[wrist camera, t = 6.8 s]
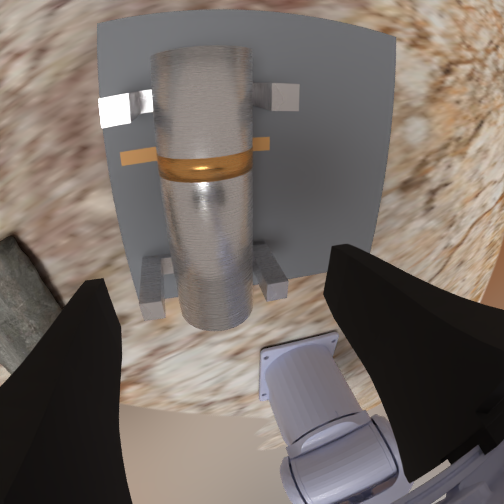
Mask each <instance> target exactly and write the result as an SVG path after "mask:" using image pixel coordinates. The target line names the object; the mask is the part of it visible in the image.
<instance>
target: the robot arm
mask: <svg viewBox="0 0 504 504" xmlns="http://www.w3.org/2000/svg"><path fill="white" fill-rule="evenodd" d="M323 295H324V297H325V299H326V302H327V304H328V306H329V309H330V311H331V313H332V315H333V317H334V319H335V321H336V322H337V324H338V325H339V327H340V329H341V330H342V332H343V333H344V335H345V337H346V338H347V340H348V341H349V343H350V344H351V346H352V347H353V349H354V351H355V352H356V354H357V355H358V357H359V359H360V360H361V362H362V363H363V365H364V366H365V368H366V370H367V372H368V374H369V375H370V377H371V379H372V381H373V384H374V386H375V388H376V390H377V392H378V395H379V397H380V399H381V401H382V404H383V406H384V409H385V411H386V414H387V416H388V419H389V421H388V420H387V419H386V418H385V417H383V416H379V415H377V414H375V415H373V416H372V417H369V415H368V413H367V412H366V410H364V411H363V410H362V409H361V407H360V405H359V403H358V401H357V400H356V398H355V396H354V394H353V392H352V391H351V389H350V387H349V385H348V384H347V382H346V380H345V378H344V376H343V375H342V373H341V371H340V369H339V368H338V366H337V364H336V362H335V361H334V359H333V354H334V351H335V347H336V344H337V341H338V337H339V334H338V333H337V332H332V333H328V334H324V335H320V336H316V337H312V338H308V339H304V340H300V341H296V342H292V343H288V344H283V345H279V346H274V347H270V348H265V349H263V350H262V351H261V352H260V378H259V399H260V401H266V400H269V402H270V405H271V408H272V410H273V413H274V416H275V418H276V421H277V424H278V427H279V429H280V432H281V435H282V437H283V439H284V441H285V443H286V444H287V445H288V447H286V450H287V452H288V455H289V456H287V457H284V458H283V460H282V464H281V466H280V475H281V479H282V483H283V486H284V488H285V491H286V493H287V495H288V497H289V499H290V501H291V502H292V504H431V503H433V502H434V501H436V500H437V499H439V498H440V497H441V496H443V495H444V494H445V493H446V498H445V499H443V500H441V501H439V502H437V503H435V504H504V310H502V309H498V308H494V307H490V306H487V305H483V304H480V303H477V302H474V301H471V300H468V299H465V298H463V297H460V296H457V295H455V294H452V293H450V292H447V291H445V290H442V289H440V288H438V287H435V286H433V285H431V284H429V283H427V282H425V281H423V280H421V279H419V278H416V277H414V276H412V275H410V274H408V273H406V272H405V271H403V270H401V269H399V268H397V267H395V266H393V265H391V264H389V263H387V262H385V261H383V260H381V259H380V258H378V257H376V256H374V255H372V254H370V253H368V252H366V251H364V250H362V249H359V248H357V247H355V246H353V245H350V244H341V245H334V246H332V247H331V253H330V259H329V265H328V271H327V276H326V282H325V287H324V293H323ZM121 364H122V338H121V325H120V323H119V320H118V318H117V315H116V312H115V310H114V307H113V304H112V302H111V299H110V296H109V293H108V290H107V287H106V284H105V281H104V278H101V279H94V280H87V281H85V282H84V283H83V284H82V285H81V286H80V288H79V289H78V290H77V291H76V293H75V294H74V295H73V297H72V298H71V299H70V301H69V302H68V303H67V305H66V306H65V307H64V309H63V310H62V311H61V313H60V314H59V315H58V317H57V318H56V319H55V321H54V322H53V324H52V325H51V326H50V328H49V329H48V330H47V331H46V333H45V334H44V335H43V336H42V338H41V339H40V340H39V342H38V343H37V344H36V346H35V347H34V348H33V350H32V351H31V352H30V353H29V355H28V356H27V357H26V358H25V360H24V361H23V362H22V363H21V364H20V366H19V367H18V368H17V369H16V370H15V371H14V372H13V374H12V375H11V376H10V377H9V378H8V379H7V380H6V381H5V382H4V384H3V385H2V386H1V387H0V504H132V500H131V496H130V492H129V488H128V484H127V479H126V474H125V468H124V463H123V457H122V449H121V441H120V433H119V397H120V379H121ZM447 459H448V460H449V462H450V463H451V465H450V466H449V467H448V468H446V469H445V470H444V471H442V472H441V473H439V474H438V475H436V476H435V477H433V478H432V479H430V480H429V481H427V482H426V483H424V484H423V485H421V486H419V487H418V488H416V489H415V490H413V491H411V492H410V493H409V491H410V489H411V487H412V485H413V483H414V481H415V480H417V479H418V478H420V477H421V476H423V475H425V474H426V473H428V472H429V471H431V470H432V469H434V468H435V467H437V466H438V465H440V464H441V463H443V462H444V461H445V460H447Z"/></svg>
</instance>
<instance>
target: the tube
mask: <svg viewBox="0 0 504 504" xmlns="http://www.w3.org/2000/svg"><path fill="white" fill-rule="evenodd" d="M150 59H151V85H152V102H153V117H154V129H155V141H156V151H157V152H156V153H157V163H158V172H159V179H160V187H161V195H162V202H163V209H164V216H165V223H166V230H167V236H168V242H169V249H170V254H171V260H172V266H173V271H174V277H175V282H176V287H177V293H178V298H179V303H180V307H181V312H182V315H183V317H184V319H185V320H186V321H187V322H188V323H189V324H191V325H192V326H194V327H196V328H199V329H202V330H207V331H222V330H227V329H231V328H234V327H236V326H238V325H239V324H241V323H243V322H244V321H245V320H246V319H247V318H248V317H249V315H250V314H251V311H252V308H253V97H252V49H251V48H247V47H240V46H225V45H212V46H194V47H185V48H177V49H171V50H166V51H162V52H158V53H155V54H153V55H151V56H150Z"/></svg>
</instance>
